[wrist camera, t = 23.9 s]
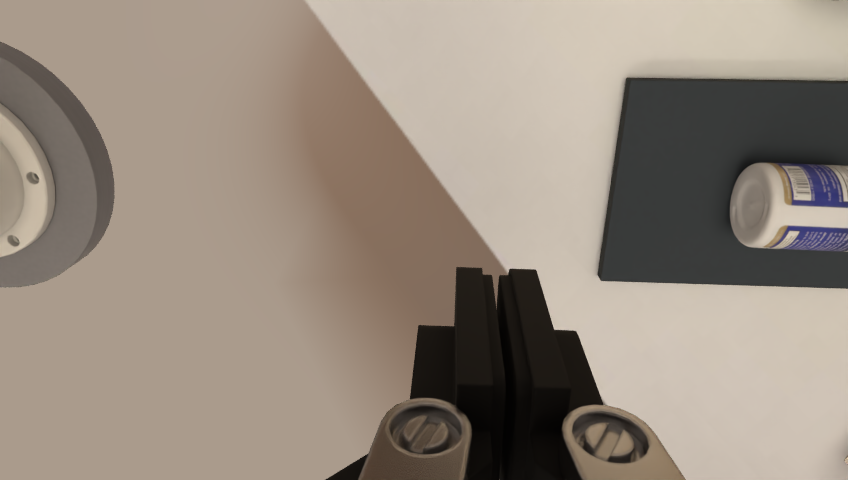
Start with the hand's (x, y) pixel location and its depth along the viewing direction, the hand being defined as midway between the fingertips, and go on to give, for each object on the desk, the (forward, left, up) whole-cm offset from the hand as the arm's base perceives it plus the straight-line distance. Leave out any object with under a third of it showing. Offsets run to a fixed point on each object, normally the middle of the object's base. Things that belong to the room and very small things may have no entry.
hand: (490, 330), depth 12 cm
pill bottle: (+17, -5, -24) cm, 30 cm away
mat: (+19, -5, -27) cm, 33 cm away
